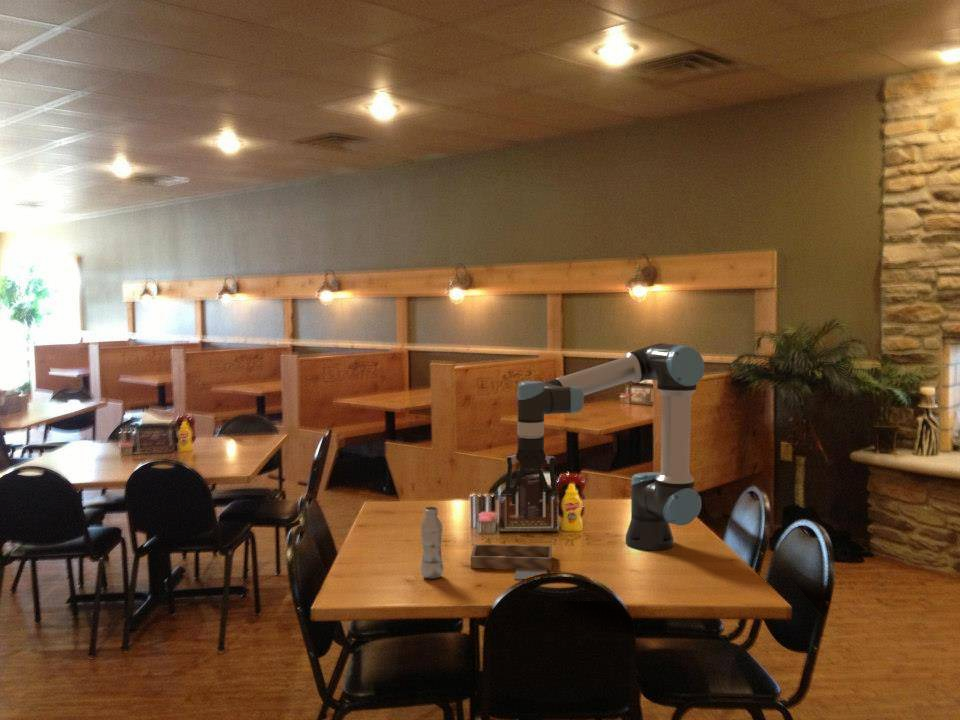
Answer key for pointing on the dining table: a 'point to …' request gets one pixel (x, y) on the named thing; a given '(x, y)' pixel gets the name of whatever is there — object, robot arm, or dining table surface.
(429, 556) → the plastic bottle
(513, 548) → the brown shallow rectangular container
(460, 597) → the dining table surface
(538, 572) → the tile
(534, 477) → the box
